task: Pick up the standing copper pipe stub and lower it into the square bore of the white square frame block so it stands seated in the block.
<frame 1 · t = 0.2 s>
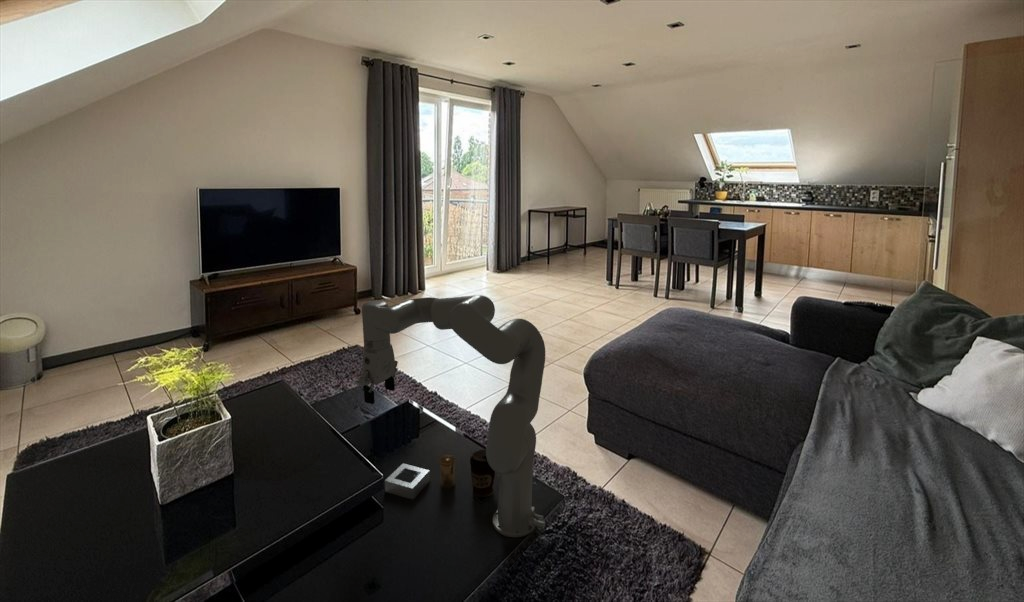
hand: (380, 396, 148), 31 cm above the table, fingers open, 9 cm apart
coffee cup: (483, 492, 154), on the table
white square frame block: (408, 486, 155), on the table
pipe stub: (447, 484, 157), on the table
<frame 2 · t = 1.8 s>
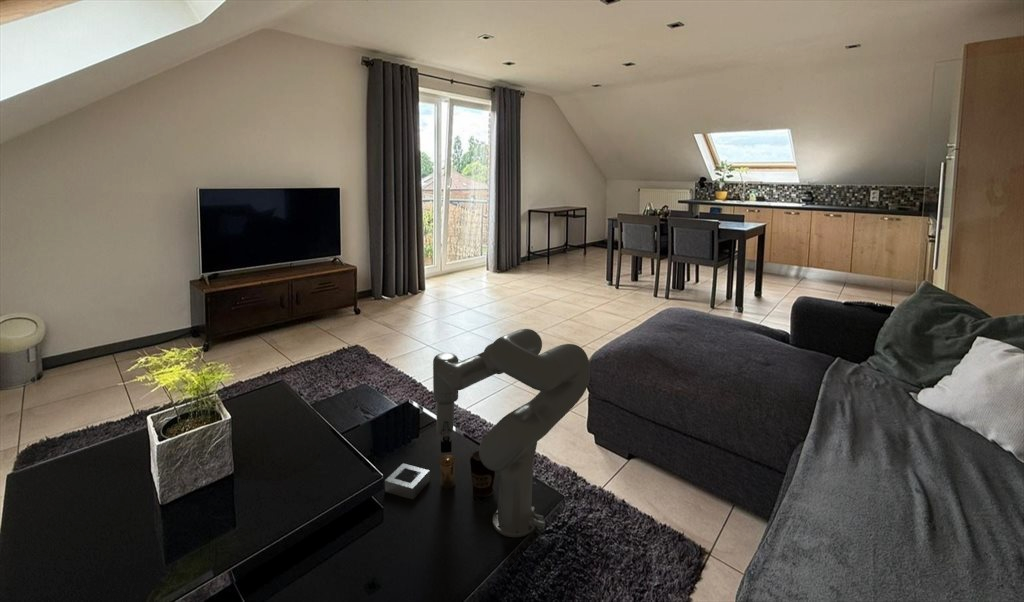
hand: (445, 443, 153), 15 cm above the table, fingers open, 9 cm apart
nothing on the table moved.
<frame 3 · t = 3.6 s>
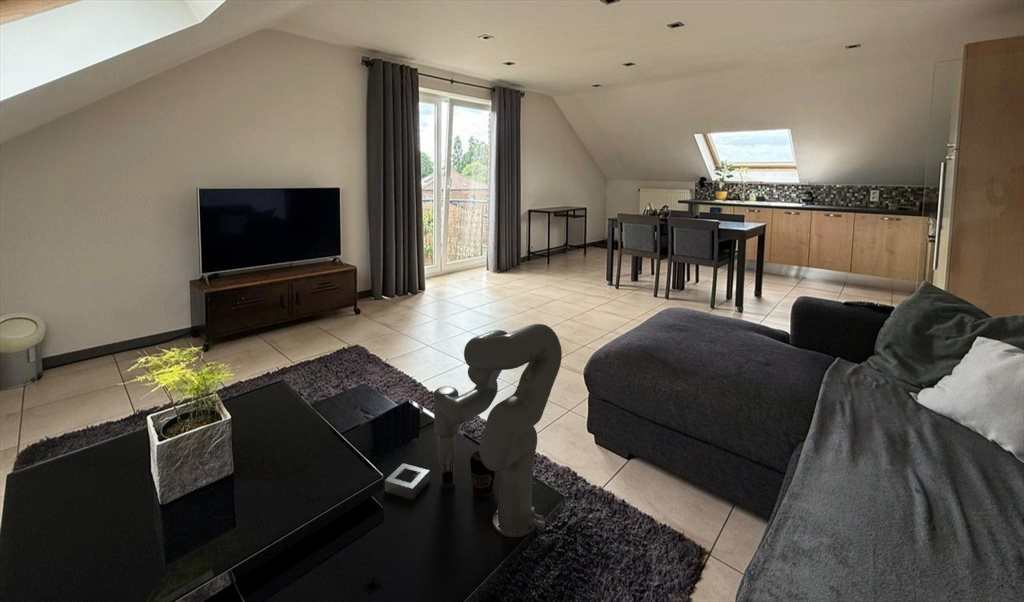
hand: (447, 477, 156), 3 cm above the table, fingers closed on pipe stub, 4 cm apart
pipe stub: (447, 484, 157), on the table, touching gripper
everything else where it was.
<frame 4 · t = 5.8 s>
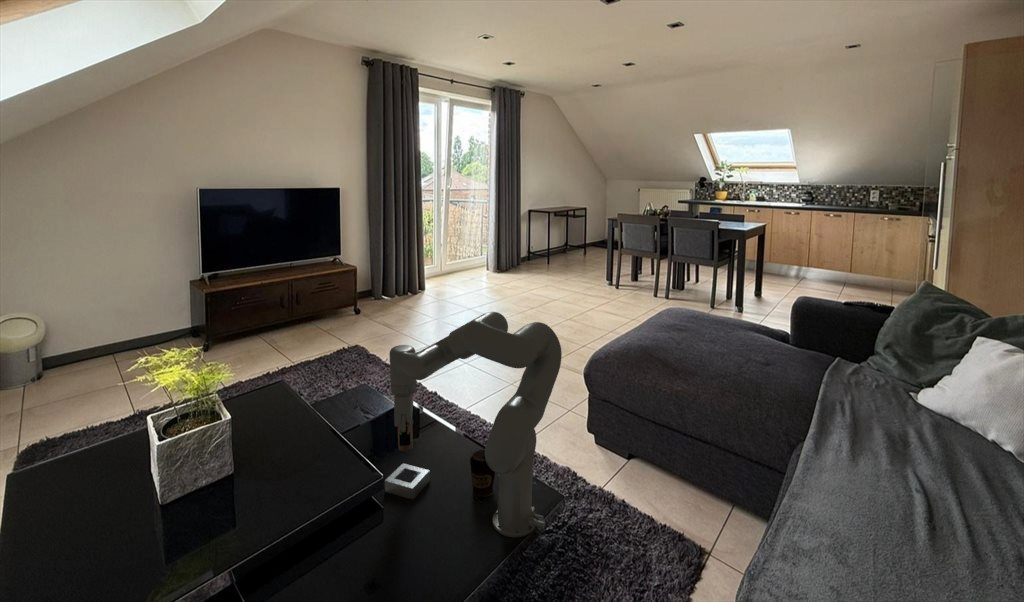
hand: (405, 439, 151), 16 cm above the table, fingers closed on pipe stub, 4 cm apart
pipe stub: (405, 447, 152), point 14 cm above the table, touching gripper
everything else where it was.
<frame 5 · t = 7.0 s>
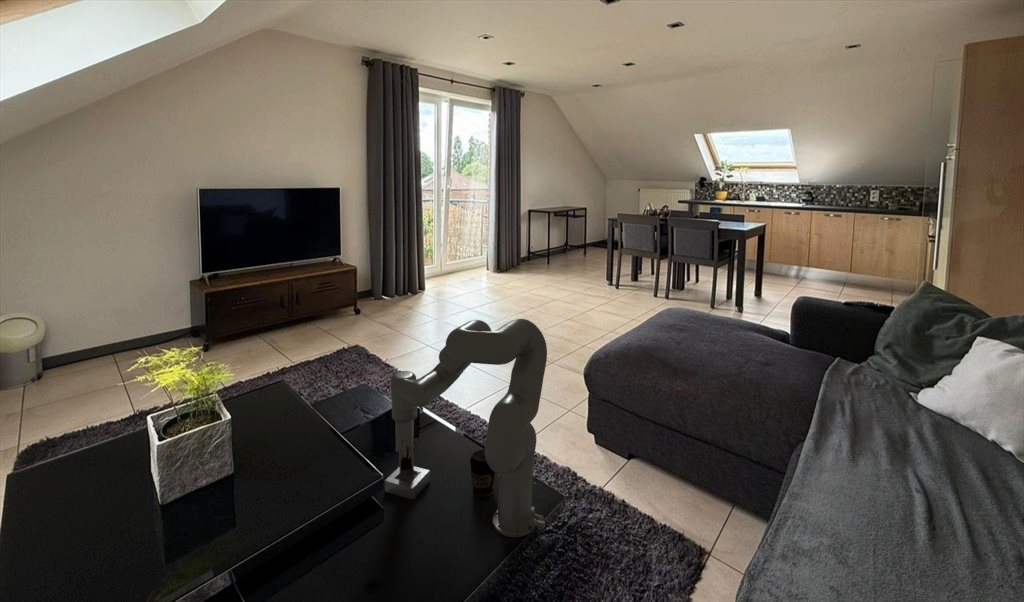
hand: (406, 463, 153), 8 cm above the table, fingers closed on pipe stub, 4 cm apart
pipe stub: (406, 470, 154), point 6 cm above the table, touching gripper
everything else where it was.
when the fingers open (4 cm above the table, at t = 8.0 s): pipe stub drops 1 cm, resting on white square frame block.
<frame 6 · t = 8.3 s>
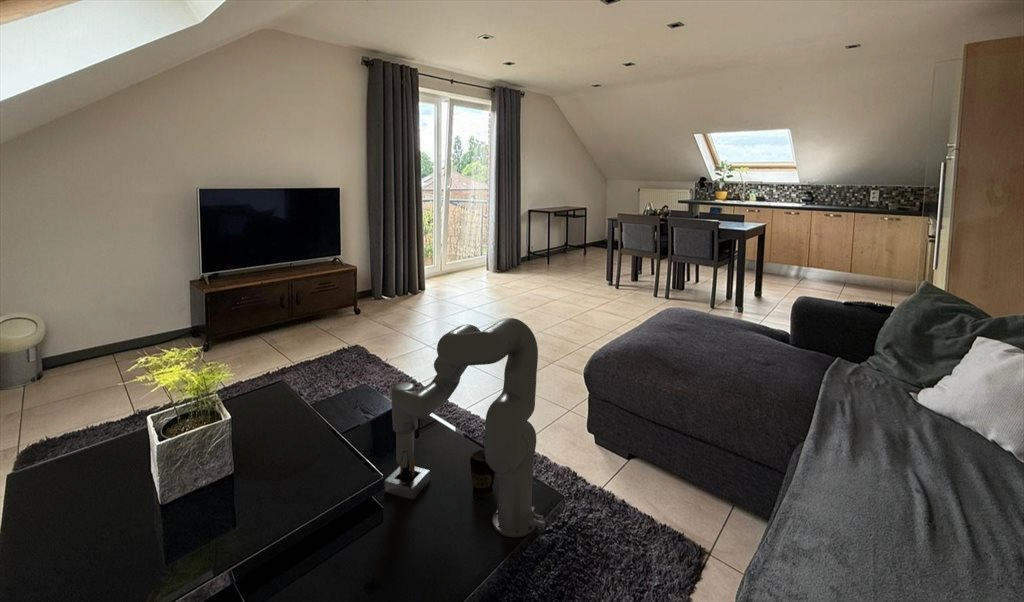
hand: (407, 473, 154), 5 cm above the table, fingers open, 6 cm apart
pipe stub: (408, 485, 155), resting on white square frame block
everything else where it was.
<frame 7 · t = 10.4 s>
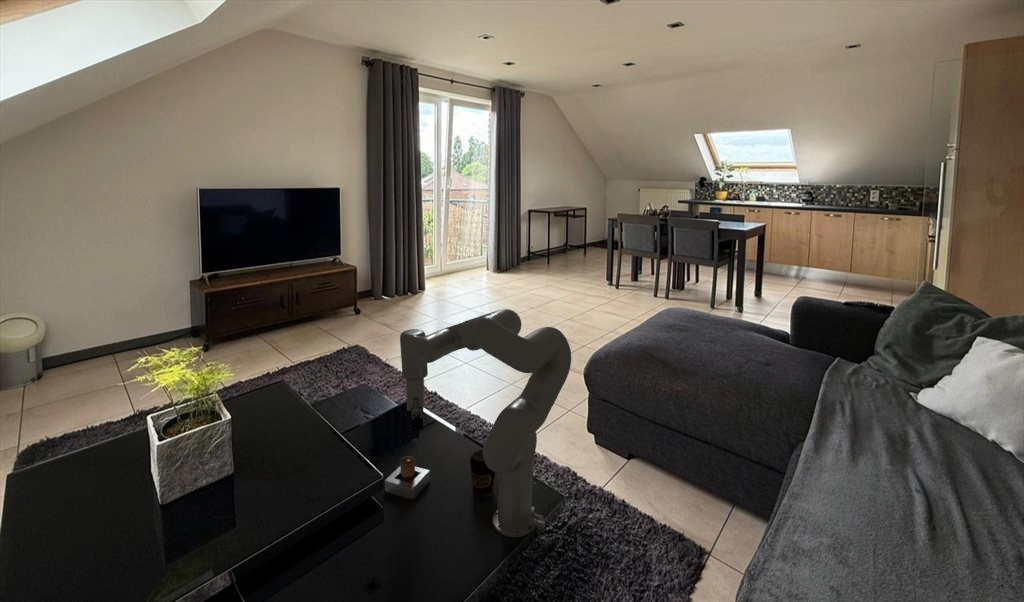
hand: (417, 422, 151), 22 cm above the table, fingers open, 9 cm apart
nothing on the table moved.
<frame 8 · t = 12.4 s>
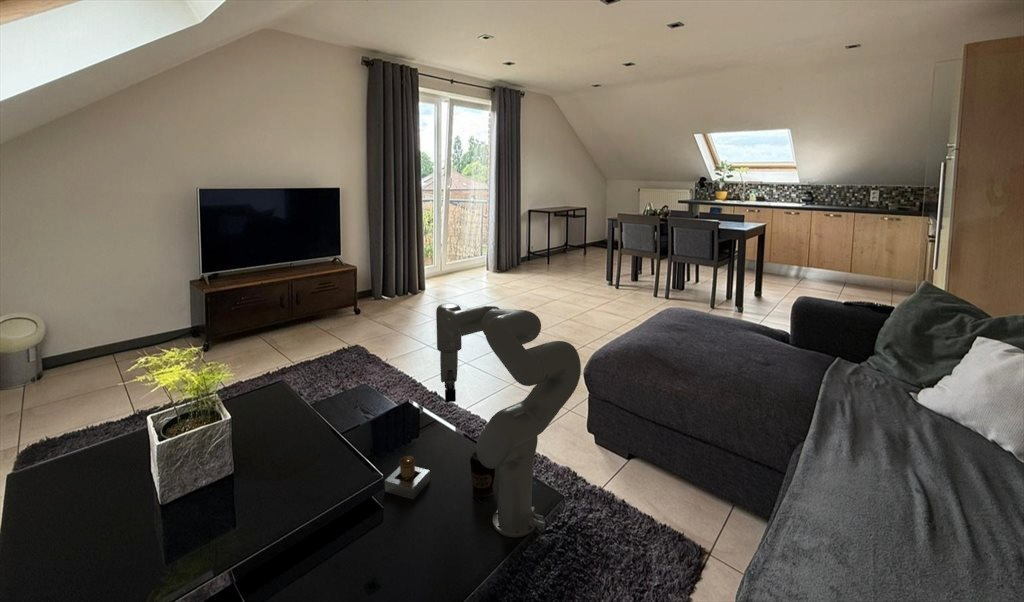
hand: (450, 394, 156), 28 cm above the table, fingers open, 9 cm apart
nothing on the table moved.
at the end: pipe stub 0.1 cm off-centre on the white square frame block, point 0.3 cm above the white square frame block's base; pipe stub tilted 1°; the gripper is holding nothing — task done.
